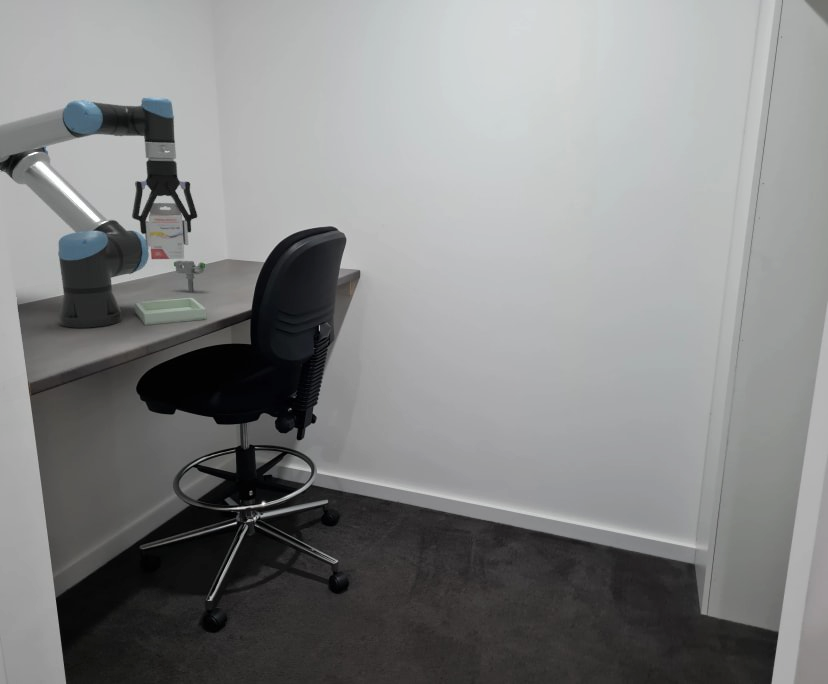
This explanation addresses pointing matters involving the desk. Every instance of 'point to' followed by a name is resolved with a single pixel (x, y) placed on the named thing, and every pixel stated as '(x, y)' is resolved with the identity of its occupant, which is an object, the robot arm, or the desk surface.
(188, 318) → the tray
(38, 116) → the robot arm
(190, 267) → the mechanical component
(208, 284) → the desk surface
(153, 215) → the ink cartridge box
